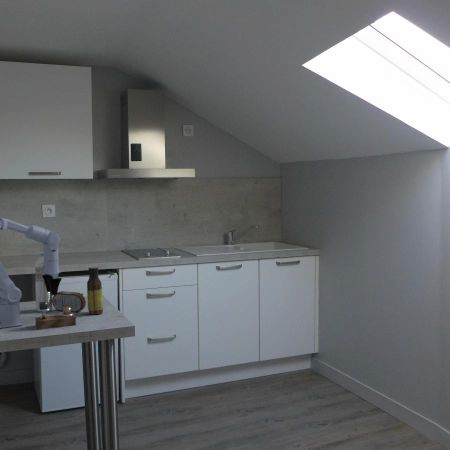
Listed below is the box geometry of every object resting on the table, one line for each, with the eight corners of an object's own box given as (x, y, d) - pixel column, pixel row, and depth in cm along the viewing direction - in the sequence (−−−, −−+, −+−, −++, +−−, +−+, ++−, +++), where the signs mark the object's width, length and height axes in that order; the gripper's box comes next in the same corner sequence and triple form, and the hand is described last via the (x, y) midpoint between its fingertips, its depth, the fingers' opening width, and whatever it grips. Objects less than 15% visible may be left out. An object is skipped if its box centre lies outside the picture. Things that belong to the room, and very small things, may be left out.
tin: (86, 311, 260) (85, 292, 259) (82, 313, 257) (82, 293, 256) (55, 309, 264) (54, 290, 263) (51, 311, 261) (50, 291, 260)
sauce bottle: (104, 311, 260) (103, 265, 258) (101, 315, 254) (101, 268, 252) (88, 311, 260) (88, 265, 258) (86, 315, 253) (85, 268, 252)
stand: (39, 329, 230) (39, 321, 230) (35, 325, 236) (35, 317, 236) (75, 325, 237) (75, 317, 237) (71, 321, 243) (71, 313, 243)
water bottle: (53, 311, 259) (52, 254, 257) (36, 313, 257) (35, 254, 254) (51, 308, 265) (50, 252, 263) (35, 309, 263) (34, 252, 261)
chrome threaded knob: (38, 320, 231) (38, 304, 230) (35, 317, 235) (35, 301, 235) (51, 319, 233) (51, 302, 233) (48, 316, 238) (48, 300, 237)
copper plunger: (62, 325, 236) (62, 309, 235) (59, 322, 240) (58, 307, 239) (75, 324, 238) (74, 308, 237) (71, 321, 242) (71, 305, 242)
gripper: (65, 262, 241) (66, 295, 243) (56, 257, 254) (57, 289, 255) (47, 263, 238) (48, 297, 239) (39, 258, 251) (40, 290, 252)
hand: (51, 293), depth 247 cm, fingers open, 7 cm apart
